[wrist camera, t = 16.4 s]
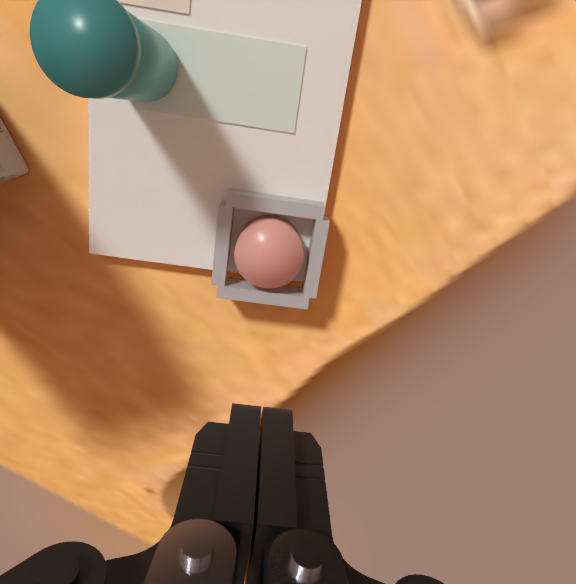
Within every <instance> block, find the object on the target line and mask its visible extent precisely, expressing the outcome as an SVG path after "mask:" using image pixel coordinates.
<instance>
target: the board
mask: <svg viewBox="0 0 576 584" xmlns="http://www.w3.org/2000/svg"><path fill="white" fill-rule="evenodd" d="M117 1H118V2H119V3H120V4H121V5H123V7H124V8H125V9H126V10H127V11H128V12H130V13H131V14H132V15H134V16H135V17H137V18H138V19H139V20H141V21H142V22H144V23H145V24H147V25H148V26H149V27H151V28H152V29H154V30H155V31H156V32H158V33H159V34H161V35H162V36H163V37H164V38H165V39H166V40H167V41H168V42H169V44H170V45H171V47H172V49H173V51H174V53H175V56H176V60H177V77H176V81H175V83H174V85H173V87H172V89H171V90H170V92H169V93H168V94H167V95H166V96H164V97H163V98H161V99H159V100H157V101H153V102H140V101H131V100H123V99H114V98H105V99H92V98H88V118H89V253H90V254H98V255H105V256H113V257H120V258H128V259H135V260H143V261H150V262H157V263H165V264H172V265H180V266H187V267H195V268H202V269H210V270H212V280H211V285H217V286H218V288H217V298H222V299H229V300H237V301H245V302H252V303H260V304H268V305H276V306H283V307H291V308H299V309H306V310H307V309H308V304H309V298H316V296H317V290H318V285H319V279H320V274H321V268H322V263H323V257H324V252H325V246H326V241H327V235H328V230H329V224H330V220H329V218H328V216H325V215H324V213H325V207H326V201H327V196H328V190H329V184H330V179H331V173H332V167H333V161H334V156H335V150H336V144H337V139H338V133H339V127H340V122H341V116H342V110H343V105H344V99H345V93H346V88H347V82H348V76H349V70H350V65H351V59H352V53H353V48H354V42H355V36H356V31H357V25H358V19H359V14H360V8H361V2H362V0H117ZM263 215H276V216H280V217H282V218H284V219H286V220H288V221H289V222H291V223H292V224H293V225H294V226H295V228H296V229H297V231H298V232H299V234H300V237H301V241H302V247H303V255H304V257H303V263H302V267H301V269H300V271H299V273H298V274H297V276H296V277H295V278H294V279H293V280H292V281H300V282H303V284H302V288H300V287H293V286H285V285H283V286H281V287H278V288H261V287H258V286H255V285H253V284H251V283H249V282H248V281H247V280H240V279H232V278H227V275H228V272H232V273H240V272H239V271H238V269H237V266H236V263H235V258H234V251H235V246H236V243H237V240H238V237H239V234H240V232H241V230H242V229H243V227H244V226H245V225H246V224H247V223H248V222H249V221H251V220H252V219H254V218H256V217H259V216H263Z"/></svg>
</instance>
